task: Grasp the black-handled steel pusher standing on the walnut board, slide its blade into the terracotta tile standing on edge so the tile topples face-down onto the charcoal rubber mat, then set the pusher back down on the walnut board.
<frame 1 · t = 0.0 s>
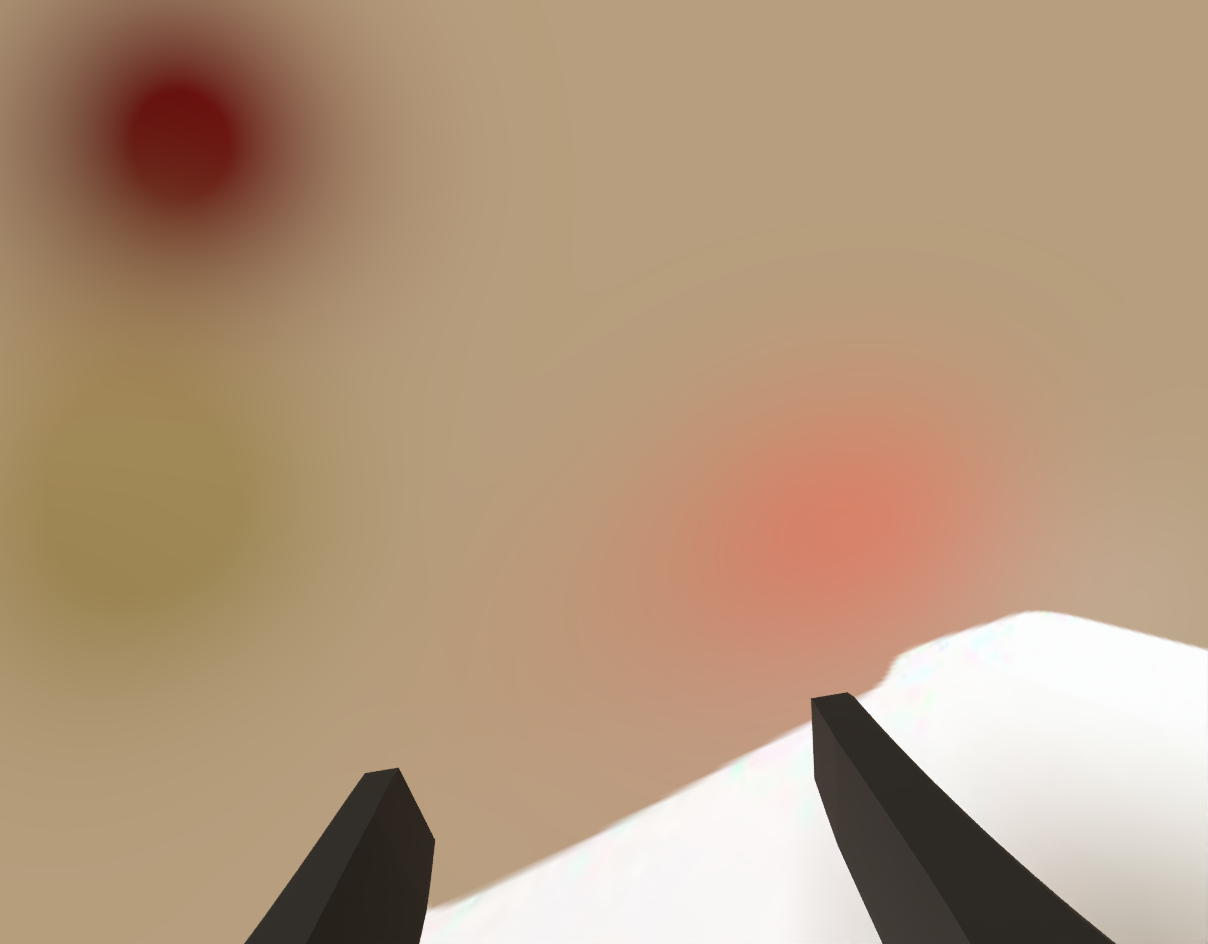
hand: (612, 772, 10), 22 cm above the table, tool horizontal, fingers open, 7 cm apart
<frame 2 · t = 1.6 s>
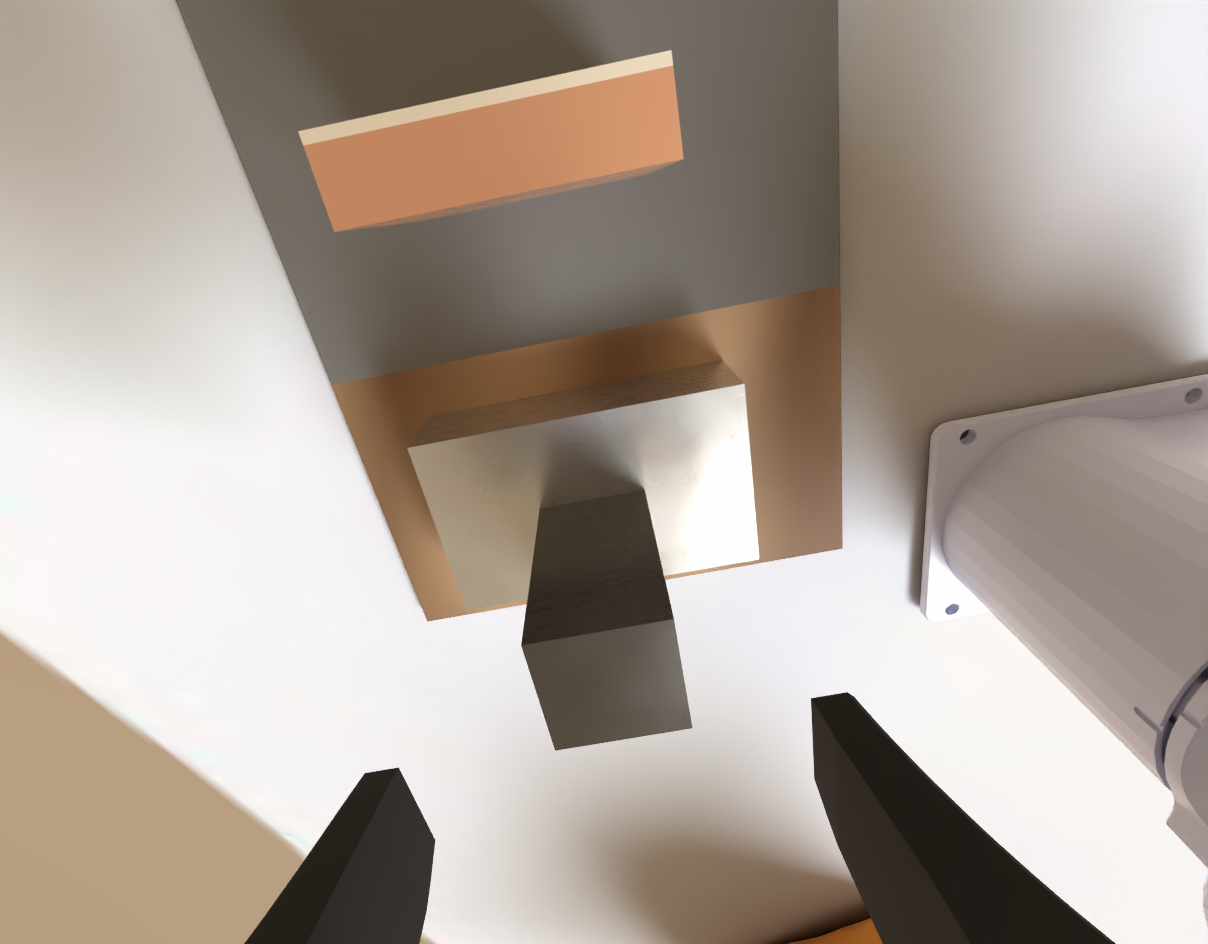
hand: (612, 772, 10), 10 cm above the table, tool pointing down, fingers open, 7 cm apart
tile: (526, 166, 15), resting on rubber mat
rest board: (608, 467, 19), on the table
rubber mat: (528, 74, 14), on the table
pusher: (599, 503, 19), resting on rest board
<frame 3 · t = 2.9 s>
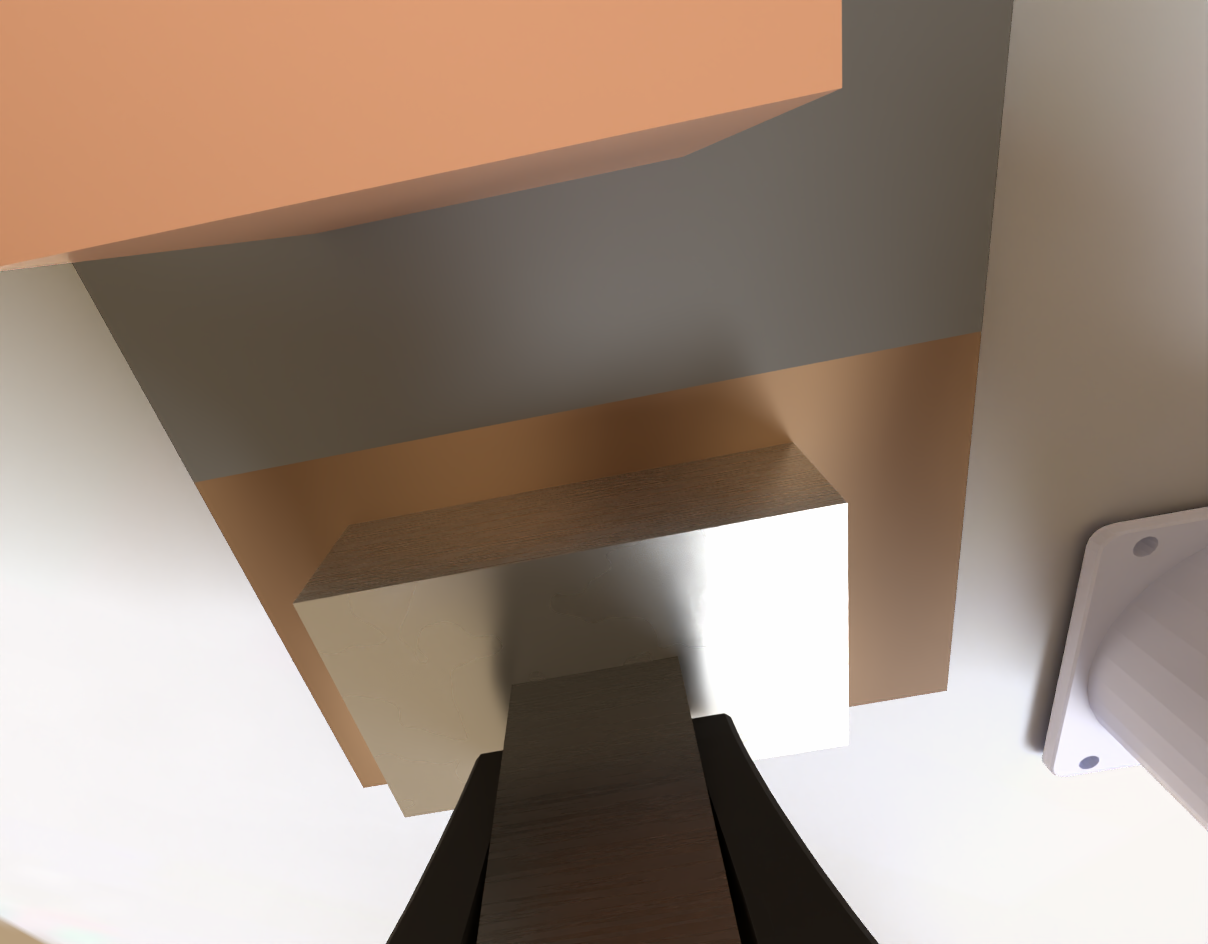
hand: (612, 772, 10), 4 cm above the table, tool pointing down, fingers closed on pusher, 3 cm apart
tile: (484, 142, 9), resting on rubber mat
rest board: (616, 585, 13), on the table
pusher: (604, 638, 13), resting on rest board, touching gripper
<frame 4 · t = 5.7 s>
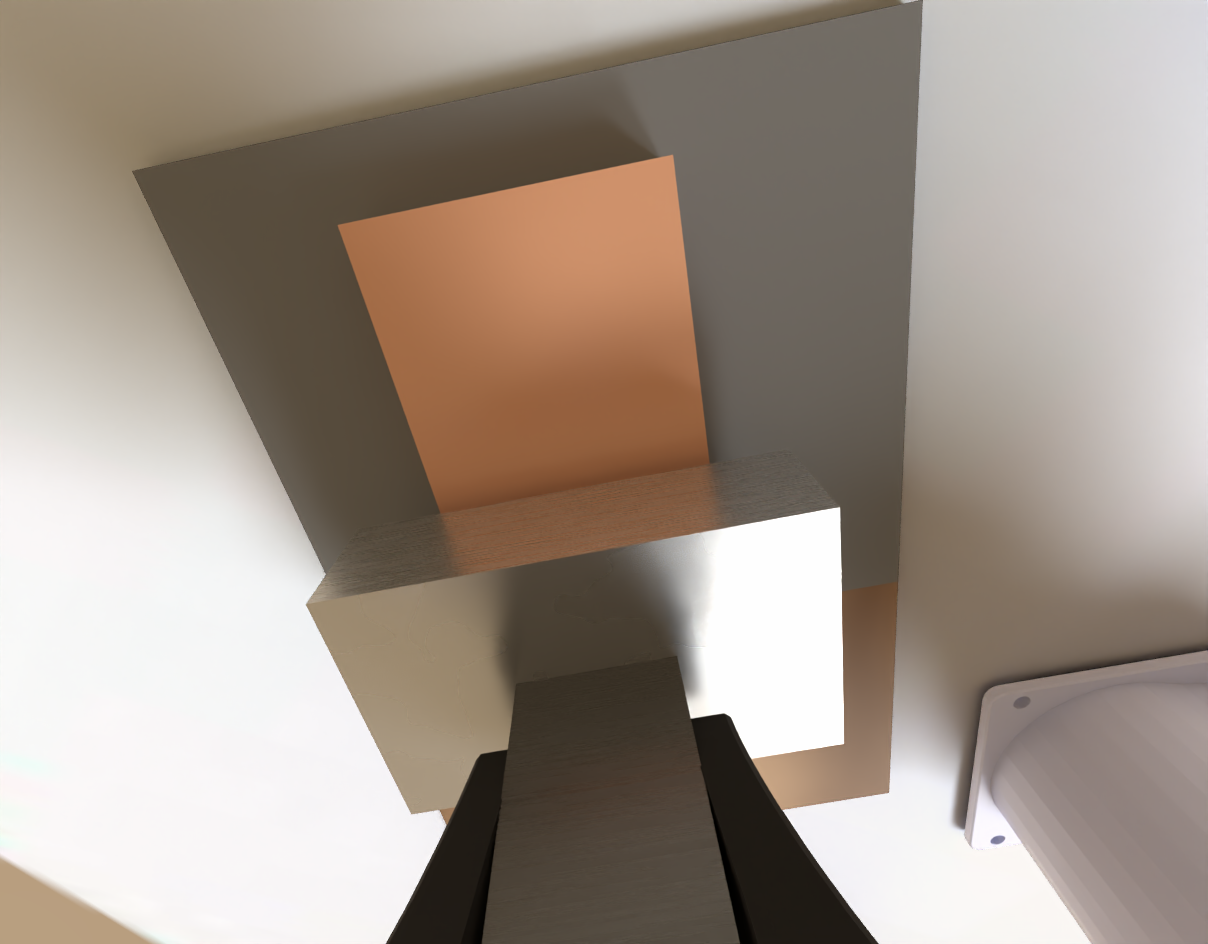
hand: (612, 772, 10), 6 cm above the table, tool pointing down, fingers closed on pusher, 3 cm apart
tile: (574, 475, 13), point 1 cm above the table, tilted 90°, touching rubber mat
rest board: (652, 725, 19), on the table
rubber mat: (584, 406, 14), on the table
pusher: (605, 640, 13), point 3 cm above the table, touching gripper
when the fingers open (5 cm above the table, at t = 8.6 s): pusher stays where it is, resting on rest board.
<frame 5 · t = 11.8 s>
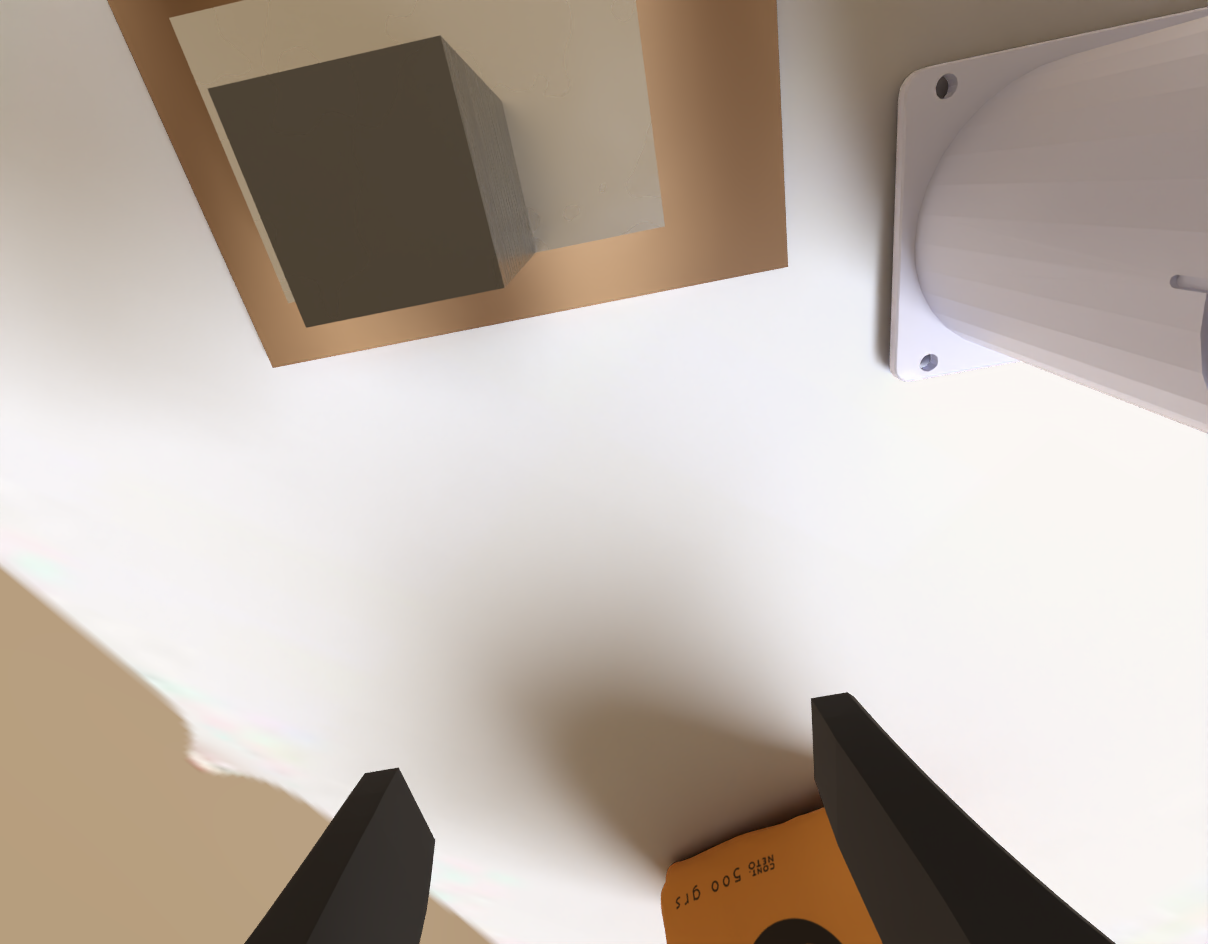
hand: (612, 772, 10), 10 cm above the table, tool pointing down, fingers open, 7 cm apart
coffee package: (788, 849, 29), on the table
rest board: (482, 140, 15), on the table
pusher: (473, 194, 15), resting on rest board
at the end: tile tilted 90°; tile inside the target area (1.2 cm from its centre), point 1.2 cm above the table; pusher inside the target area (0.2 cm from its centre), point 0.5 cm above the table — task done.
